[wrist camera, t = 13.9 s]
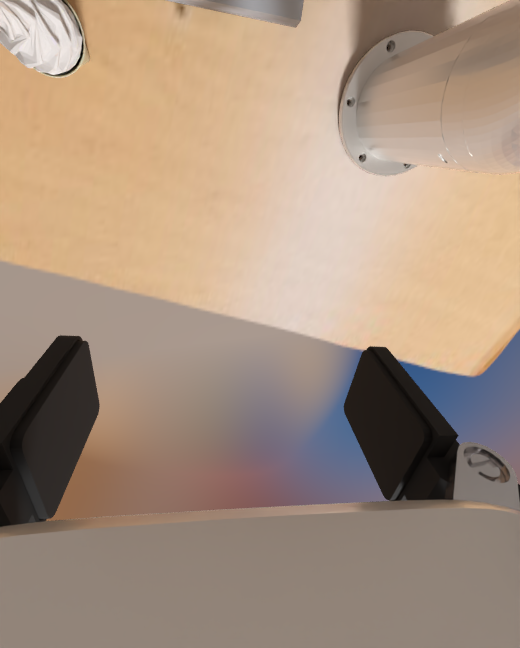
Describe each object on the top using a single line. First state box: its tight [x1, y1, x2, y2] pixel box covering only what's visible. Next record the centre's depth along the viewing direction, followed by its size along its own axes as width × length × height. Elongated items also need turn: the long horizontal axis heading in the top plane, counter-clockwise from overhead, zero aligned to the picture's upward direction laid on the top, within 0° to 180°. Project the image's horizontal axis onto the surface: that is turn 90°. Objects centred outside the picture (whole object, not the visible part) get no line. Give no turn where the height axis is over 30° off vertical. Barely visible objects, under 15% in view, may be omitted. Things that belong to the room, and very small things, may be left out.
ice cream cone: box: [0, 0, 90, 78], centre depth 22 cm, size 5×5×15 cm
